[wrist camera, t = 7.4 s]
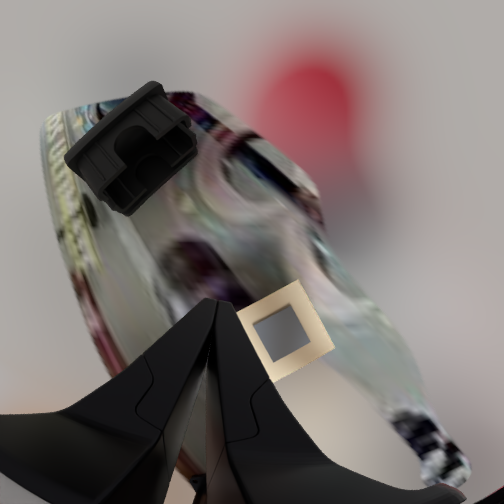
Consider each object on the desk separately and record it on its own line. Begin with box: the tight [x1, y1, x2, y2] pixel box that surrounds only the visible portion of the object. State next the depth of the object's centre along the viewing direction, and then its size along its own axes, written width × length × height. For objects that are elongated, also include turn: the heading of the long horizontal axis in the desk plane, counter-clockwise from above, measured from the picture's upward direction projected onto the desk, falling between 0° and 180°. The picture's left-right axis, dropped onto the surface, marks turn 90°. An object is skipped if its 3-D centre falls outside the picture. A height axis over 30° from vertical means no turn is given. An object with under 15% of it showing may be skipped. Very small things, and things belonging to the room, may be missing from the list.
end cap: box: [64, 81, 198, 216], centre depth 21 cm, size 10×7×7 cm
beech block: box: [236, 280, 335, 383], centre depth 19 cm, size 5×5×5 cm
